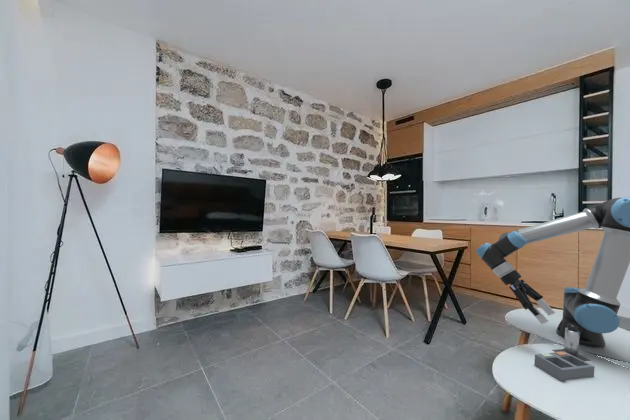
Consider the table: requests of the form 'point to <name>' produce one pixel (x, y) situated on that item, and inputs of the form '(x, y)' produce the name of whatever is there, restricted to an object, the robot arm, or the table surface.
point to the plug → (572, 340)
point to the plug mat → (578, 355)
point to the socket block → (564, 366)
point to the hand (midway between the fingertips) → (548, 318)
